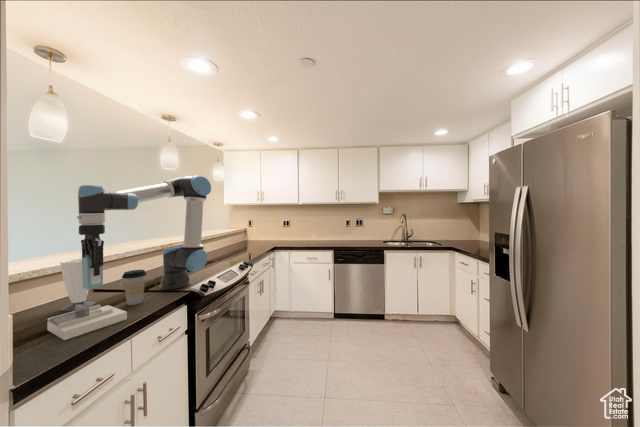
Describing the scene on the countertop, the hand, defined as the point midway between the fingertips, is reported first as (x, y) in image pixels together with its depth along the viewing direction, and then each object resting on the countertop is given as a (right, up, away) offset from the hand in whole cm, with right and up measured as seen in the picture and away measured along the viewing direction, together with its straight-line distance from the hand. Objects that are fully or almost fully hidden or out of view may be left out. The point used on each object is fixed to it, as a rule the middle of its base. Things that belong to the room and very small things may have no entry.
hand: (92, 282), depth 95 cm
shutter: (-3, -12, -6) cm, 14 cm away
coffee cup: (+2, -16, +20) cm, 25 cm away
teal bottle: (0, -2, 0) cm, 2 cm away
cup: (-22, -16, +16) cm, 31 cm away
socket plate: (+1, -15, -3) cm, 16 cm away
